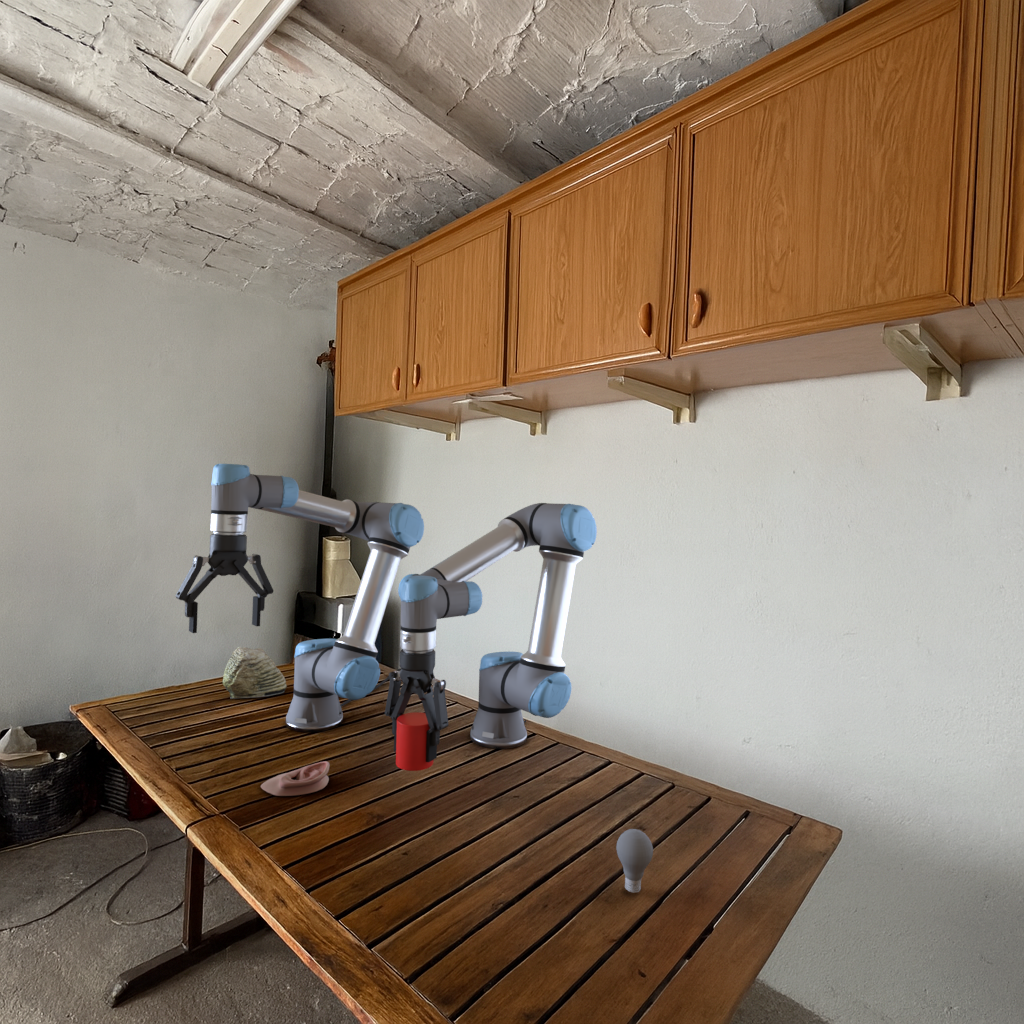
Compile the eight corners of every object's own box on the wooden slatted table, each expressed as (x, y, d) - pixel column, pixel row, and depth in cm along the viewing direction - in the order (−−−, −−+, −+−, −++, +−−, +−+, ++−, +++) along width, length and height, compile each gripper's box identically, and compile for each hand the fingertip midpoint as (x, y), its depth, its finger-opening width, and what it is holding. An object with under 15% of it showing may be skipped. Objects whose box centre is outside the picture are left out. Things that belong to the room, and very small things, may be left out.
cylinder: (387, 764, 134) (388, 719, 134) (413, 751, 141) (414, 709, 141) (416, 774, 130) (417, 728, 129) (441, 761, 136) (442, 717, 136)
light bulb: (610, 879, 108) (613, 822, 108) (644, 879, 109) (647, 822, 109) (619, 902, 102) (622, 840, 102) (655, 901, 103) (658, 840, 103)
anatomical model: (253, 773, 134) (283, 753, 145) (252, 792, 134) (282, 770, 145) (310, 782, 131) (336, 760, 142) (309, 801, 131) (335, 777, 143)
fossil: (218, 695, 195) (220, 647, 195) (278, 685, 208) (279, 640, 207) (228, 703, 189) (230, 653, 188) (289, 692, 201) (290, 645, 201)
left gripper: (172, 534, 129) (169, 638, 130) (290, 534, 147) (286, 625, 147) (161, 532, 135) (158, 631, 135) (276, 532, 152) (273, 620, 152)
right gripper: (368, 645, 137) (366, 749, 137) (446, 660, 126) (443, 773, 127) (392, 638, 143) (389, 738, 144) (468, 653, 132) (465, 760, 133)
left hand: (225, 628), depth 141 cm, fingers open, 13 cm apart
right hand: (415, 754), depth 135 cm, fingers closed on cylinder, 8 cm apart
